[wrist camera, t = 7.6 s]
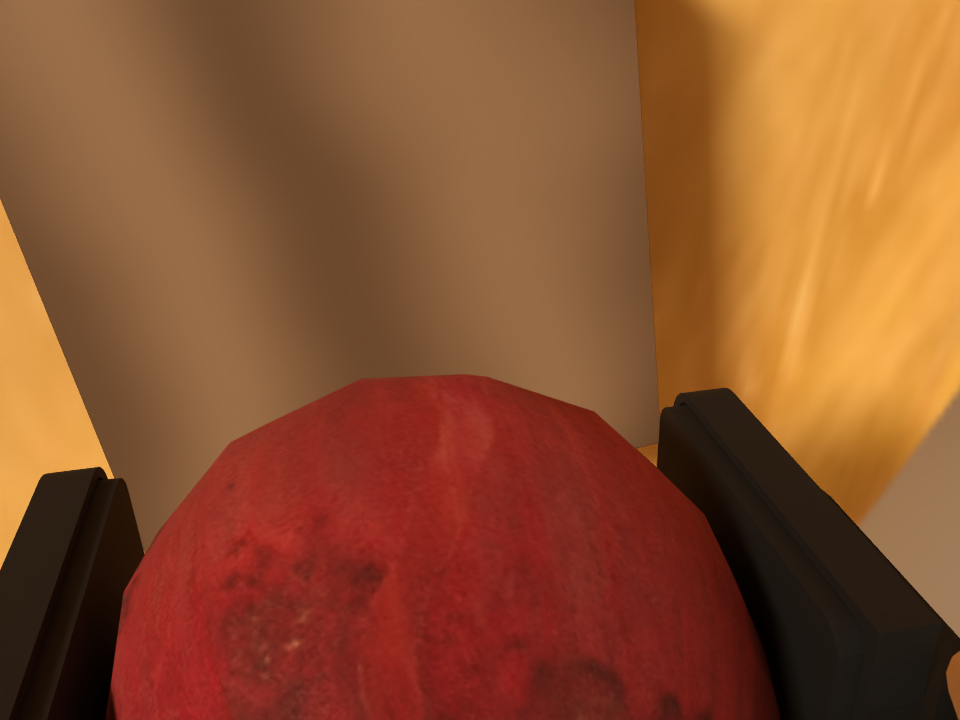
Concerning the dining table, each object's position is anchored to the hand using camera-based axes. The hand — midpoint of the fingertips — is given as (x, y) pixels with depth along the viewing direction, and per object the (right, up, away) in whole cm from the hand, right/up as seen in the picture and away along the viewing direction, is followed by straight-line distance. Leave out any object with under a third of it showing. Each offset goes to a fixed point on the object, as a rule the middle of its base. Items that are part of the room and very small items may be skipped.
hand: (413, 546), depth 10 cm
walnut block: (-3, +6, +12) cm, 14 cm away
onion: (0, +1, +2) cm, 2 cm away
